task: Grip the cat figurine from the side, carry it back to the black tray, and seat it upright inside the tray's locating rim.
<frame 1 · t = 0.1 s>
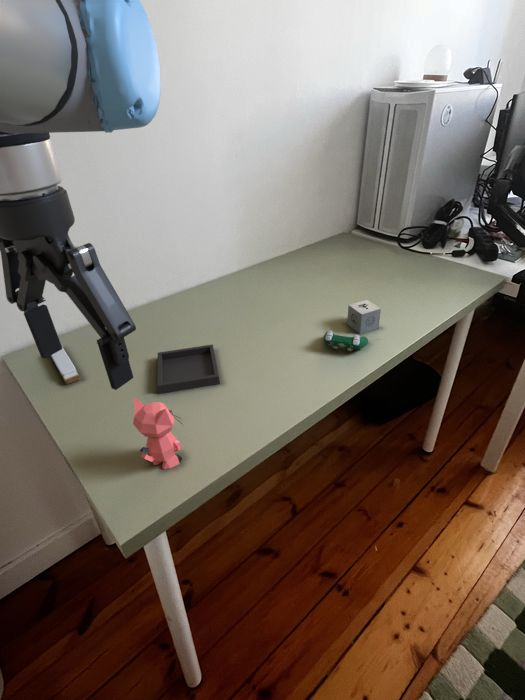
hand: (85, 367, 54), 21 cm above the table, tool pointing down, fingers open, 13 cm apart
green elongated piece: (344, 347, 92), on the table
cat figurine: (164, 461, 68), on the table
dice cube: (362, 326, 99), on the table
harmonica: (64, 367, 91), on the table
black tray: (188, 371, 87), on the table
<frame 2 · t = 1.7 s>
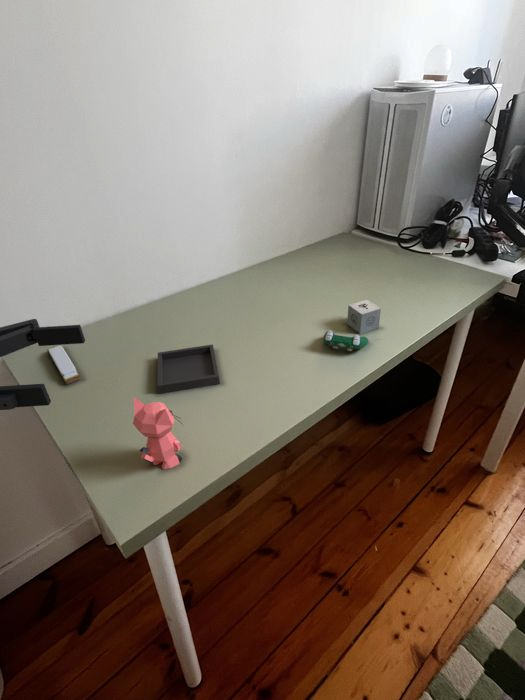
hand: (66, 361, 57), 20 cm above the table, tool horizontal, fingers open, 13 cm apart
nothing on the table moved.
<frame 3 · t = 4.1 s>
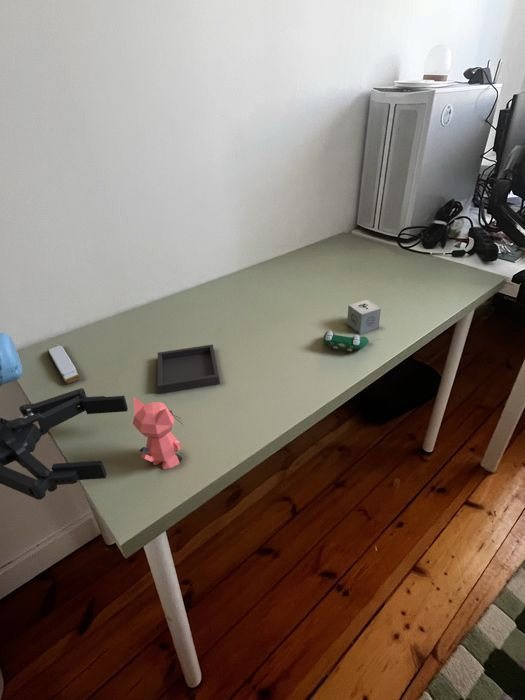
hand: (115, 433, 64), 6 cm above the table, tool horizontal, fingers open, 13 cm apart
nothing on the table moved.
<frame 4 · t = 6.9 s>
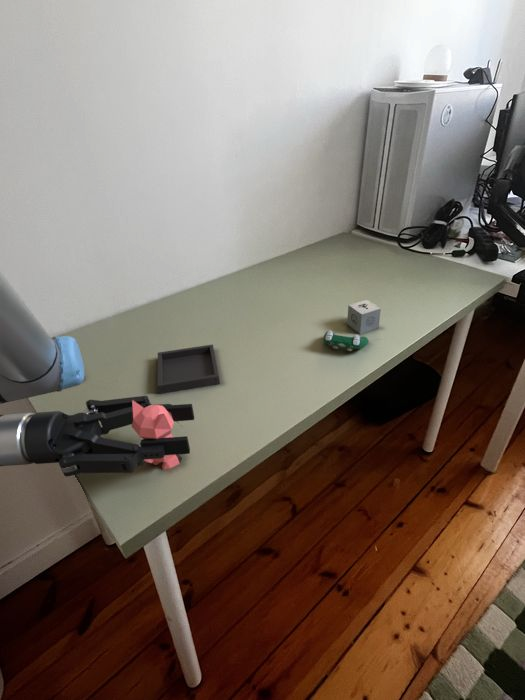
hand: (190, 427, 64), 7 cm above the table, tool horizontal, fingers closed on cat figurine, 6 cm apart
cat figurine: (164, 461, 68), on the table, touching gripper
everything else where it was.
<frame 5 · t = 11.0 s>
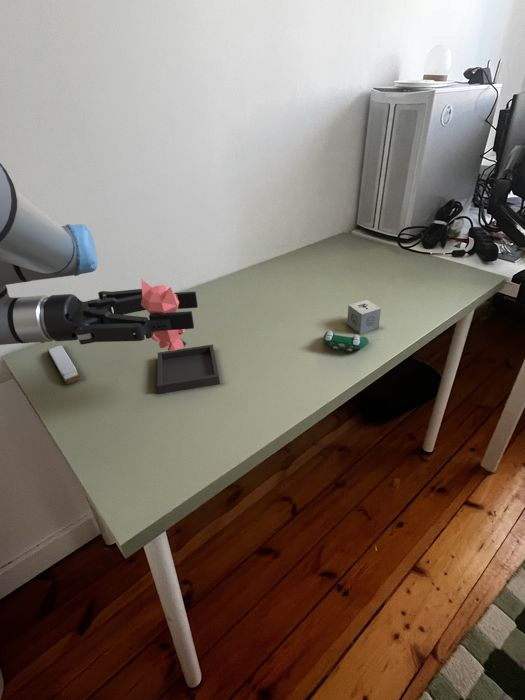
hand: (194, 309, 70), 18 cm above the table, tool horizontal, fingers closed on cat figurine, 6 cm apart
cat figurine: (170, 346, 74), point 12 cm above the table, touching gripper
everything else where it was.
when the fingers open (7 cm above the table, at t = 15.5 s): cat figurine stays where it is, resting on black tray.
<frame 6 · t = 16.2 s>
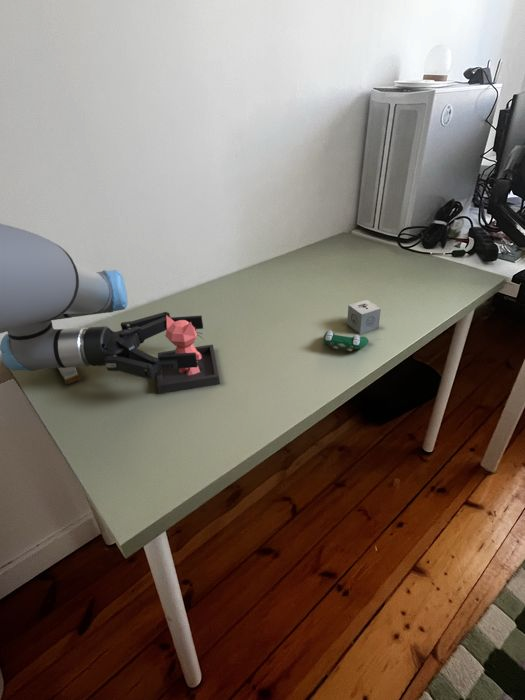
hand: (199, 339, 83), 7 cm above the table, tool horizontal, fingers open, 13 cm apart
cat figurine: (188, 371, 87), resting on black tray
everything else where it was.
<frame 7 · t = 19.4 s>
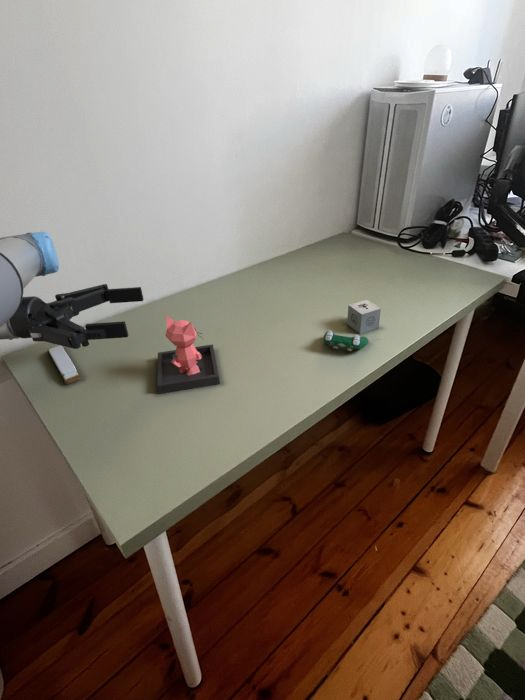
hand: (134, 310, 79), 15 cm above the table, tool horizontal, fingers open, 13 cm apart
nothing on the table moved.
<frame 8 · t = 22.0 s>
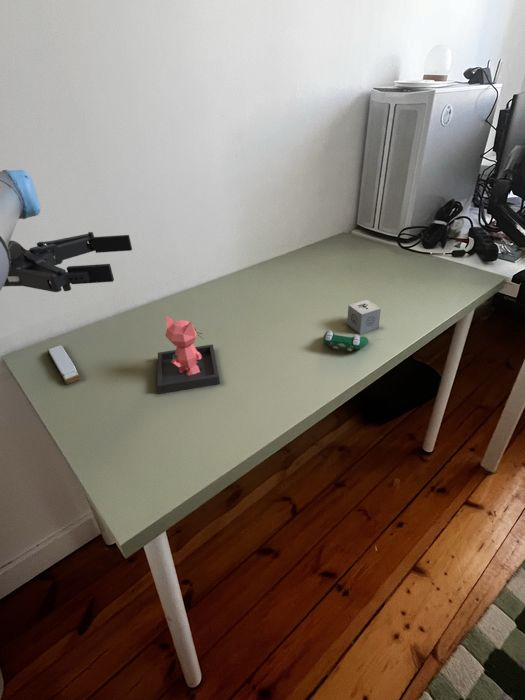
hand: (121, 256, 73), 25 cm above the table, tool horizontal, fingers open, 13 cm apart
nothing on the table moved.
at the end: cat figurine 0.2 cm off-centre in the black tray, point 0.2 cm above the black tray's base; cat figurine tilted 0°; the gripper is holding nothing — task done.
